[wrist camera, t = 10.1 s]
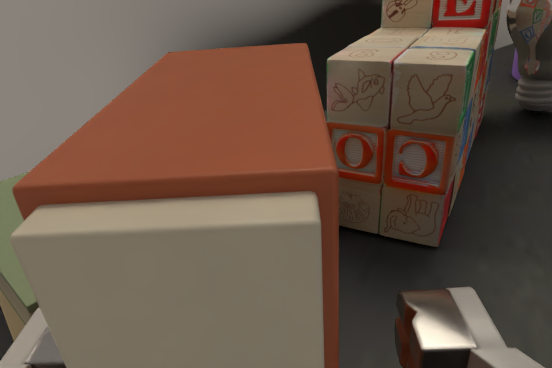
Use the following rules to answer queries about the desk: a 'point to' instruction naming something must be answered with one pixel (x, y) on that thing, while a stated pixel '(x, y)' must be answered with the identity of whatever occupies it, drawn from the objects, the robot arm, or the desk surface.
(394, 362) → the desk surface
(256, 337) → the pocket book
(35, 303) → the book stack
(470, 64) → the stack of blocks
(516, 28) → the light bulb
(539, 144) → the desk surface
